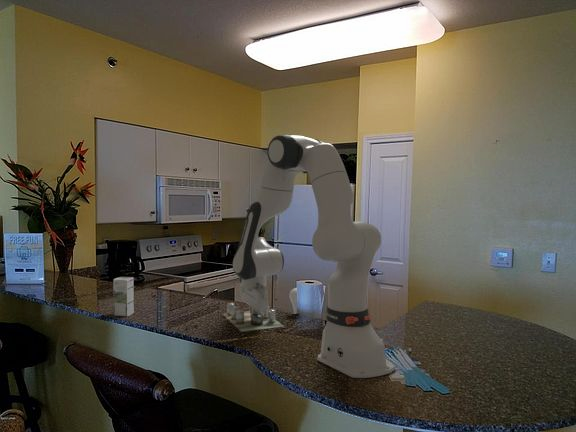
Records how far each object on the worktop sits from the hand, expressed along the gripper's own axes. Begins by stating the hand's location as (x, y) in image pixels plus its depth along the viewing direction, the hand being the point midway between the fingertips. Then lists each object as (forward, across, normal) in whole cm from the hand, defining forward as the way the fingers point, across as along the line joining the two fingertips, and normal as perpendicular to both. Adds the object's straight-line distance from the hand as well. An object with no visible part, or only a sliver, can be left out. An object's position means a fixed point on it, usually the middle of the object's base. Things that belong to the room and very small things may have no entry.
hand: (253, 318), depth 151 cm
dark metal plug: (+1, -4, 0) cm, 4 cm away
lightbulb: (+2, +3, -19) cm, 19 cm away
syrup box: (+2, +30, +43) cm, 52 cm away
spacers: (+1, +3, 0) cm, 3 cm away
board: (+2, +2, 0) cm, 3 cm away
